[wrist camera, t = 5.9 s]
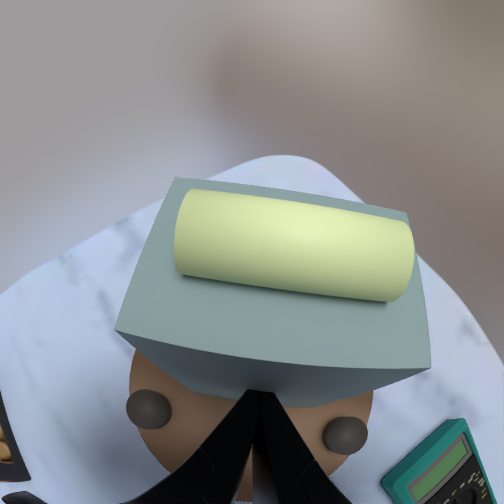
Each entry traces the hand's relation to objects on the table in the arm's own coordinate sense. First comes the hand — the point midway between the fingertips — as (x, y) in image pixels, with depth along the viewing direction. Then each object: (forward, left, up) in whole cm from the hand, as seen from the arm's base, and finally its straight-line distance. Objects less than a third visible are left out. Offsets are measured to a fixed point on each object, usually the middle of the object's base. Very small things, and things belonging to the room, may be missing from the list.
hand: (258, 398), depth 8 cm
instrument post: (+1, +1, -6) cm, 6 cm away
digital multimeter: (+4, -18, -9) cm, 21 cm away
